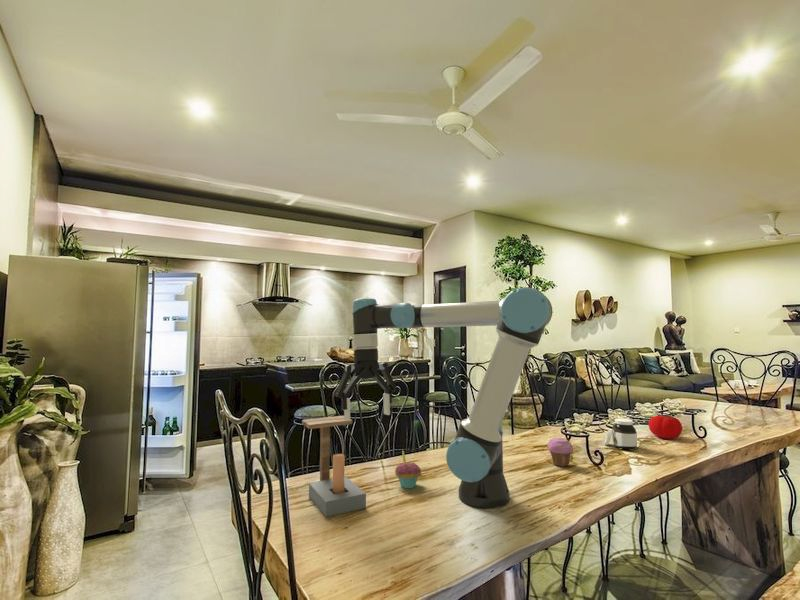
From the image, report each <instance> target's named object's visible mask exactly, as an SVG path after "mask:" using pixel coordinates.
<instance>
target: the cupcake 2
mask: <svg viewBox="0 0 800 600" xmlns="http://www.w3.org/2000/svg"><path fill="white" fill-rule="evenodd" d="M547 449H548V451H549V452H550V453H549V454H550V456H551V459H552V463H553V465H554V466H558V467H562V468H563V467H566V466H569V465H570V462H571V454H572V453H573V451H574V447H573V444H572V443H571V442H570V441H569V440H567V439H566V438H564V437H553V438H550V439H549V441H548V443H547Z"/></svg>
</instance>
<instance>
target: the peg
mask: <svg viewBox="0 0 800 600" xmlns="http://www.w3.org/2000/svg"><path fill="white" fill-rule="evenodd" d="M345 458H346V457H345V453H335V454H333V455H332V479H333V494H339V493H344V477H345V463H346V462H345V461H346V460H345Z"/></svg>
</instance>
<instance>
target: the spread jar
mask: <svg viewBox="0 0 800 600" xmlns="http://www.w3.org/2000/svg"><path fill="white" fill-rule="evenodd" d="M611 439H612V442H613V445H614V447H615V446H616V447H615V448H617V447H618V448H617V449H619V448H622V449H621V450H623V449H633V450H636V448H637V447H638V433H637V430H636V427H635V426H634V421H633V420H632V419H629V418H614V424H613V426H612V430H611V429H608V431H607V433H606V436H605V440H604V443H603V444H604V445H605V446H607V445H608V446H609V443H610V442H611Z"/></svg>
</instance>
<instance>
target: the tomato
mask: <svg viewBox="0 0 800 600" xmlns="http://www.w3.org/2000/svg"><path fill="white" fill-rule="evenodd" d="M648 429H649V431H650V433H652V434H653V435H654V436H656V437H658V438H662V439H664V440H665V439H666V440H672V439H676V438H678V437H679V436H680V435H681V434H682V432H683V425H682V422H681V421H680V420H679V419H678V418H676V417H675V416H672V415H667V414H665V415H664V414H655V416H653V417H651V418H649V421H648Z"/></svg>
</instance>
